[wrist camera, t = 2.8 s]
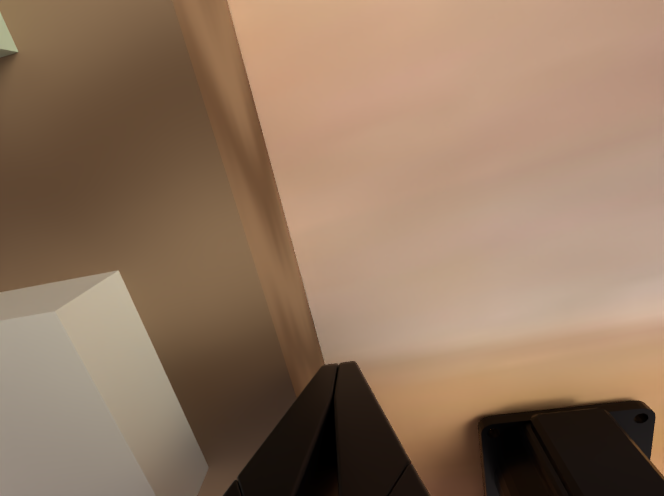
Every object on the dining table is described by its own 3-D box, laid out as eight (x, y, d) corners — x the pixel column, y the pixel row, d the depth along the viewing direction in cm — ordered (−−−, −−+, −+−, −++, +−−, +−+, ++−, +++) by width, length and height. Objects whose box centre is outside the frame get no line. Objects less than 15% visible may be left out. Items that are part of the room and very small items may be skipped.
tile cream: (208, 467, 11) (179, 538, 9) (46, 483, 12) (-12, 550, 10) (118, 270, 9) (54, 311, 7) (-76, 306, 10) (-179, 352, 8)
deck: (333, 397, 15) (325, 491, 11) (123, 422, 16) (54, 513, 13) (123, -384, 8) (-98, -858, 4) (-225, -223, 9) (-633, -461, 5)
